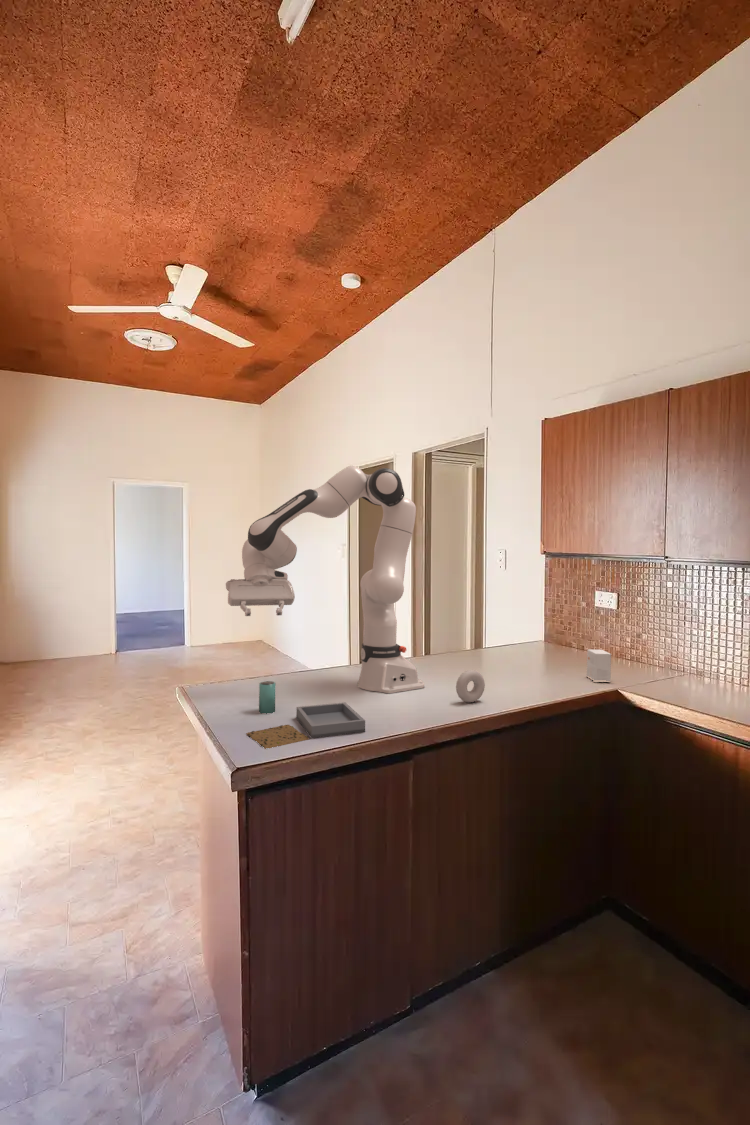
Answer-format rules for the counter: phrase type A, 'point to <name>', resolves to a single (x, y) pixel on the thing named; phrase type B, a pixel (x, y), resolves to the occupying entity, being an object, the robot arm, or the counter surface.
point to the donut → (463, 682)
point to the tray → (330, 720)
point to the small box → (598, 664)
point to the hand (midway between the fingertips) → (264, 614)
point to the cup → (267, 697)
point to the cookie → (277, 736)
